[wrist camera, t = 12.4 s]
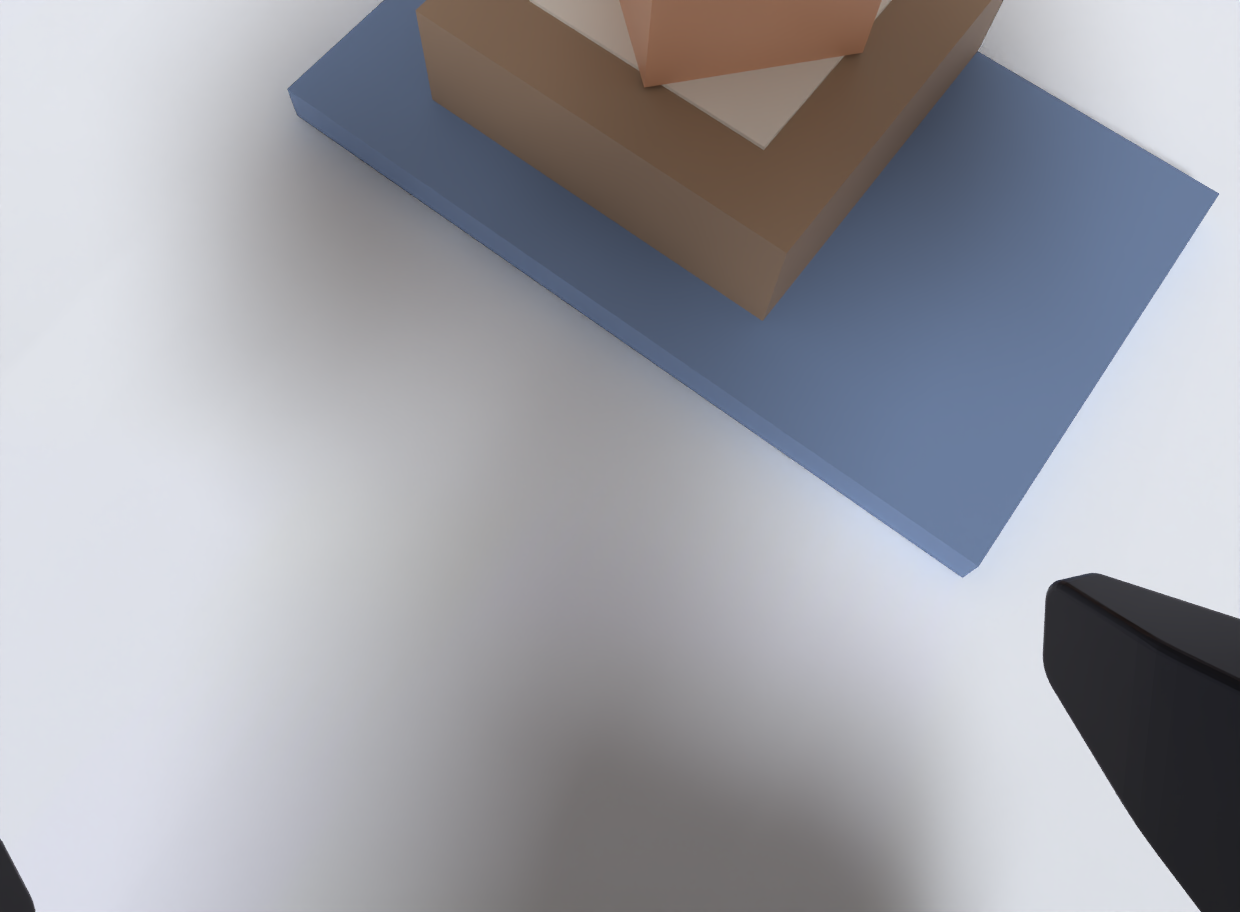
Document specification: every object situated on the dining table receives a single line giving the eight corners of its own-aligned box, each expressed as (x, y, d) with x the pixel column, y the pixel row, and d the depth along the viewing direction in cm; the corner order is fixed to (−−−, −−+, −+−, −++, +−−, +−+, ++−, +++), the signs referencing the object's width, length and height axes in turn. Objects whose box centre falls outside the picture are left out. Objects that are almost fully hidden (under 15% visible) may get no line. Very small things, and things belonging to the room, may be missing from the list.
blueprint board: (1197, 216, 27) (1298, 112, 23) (962, 577, 24) (1037, 524, 20) (582, -151, 31) (583, -293, 27) (297, 115, 27) (251, -5, 23)
